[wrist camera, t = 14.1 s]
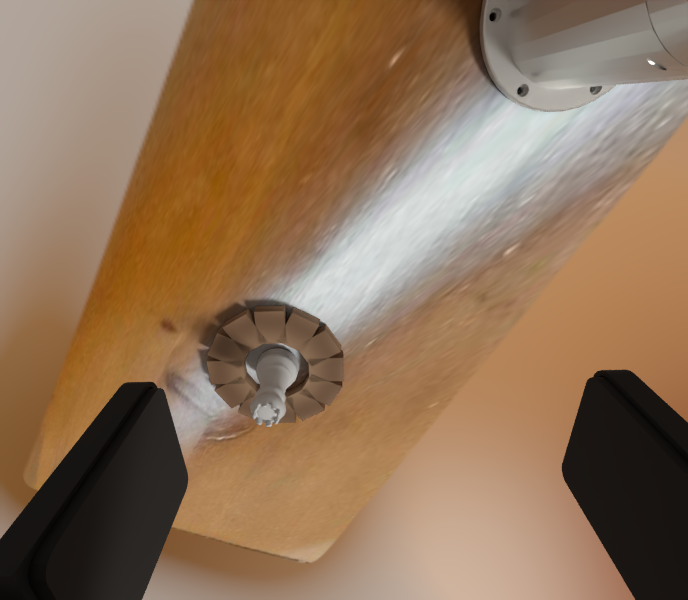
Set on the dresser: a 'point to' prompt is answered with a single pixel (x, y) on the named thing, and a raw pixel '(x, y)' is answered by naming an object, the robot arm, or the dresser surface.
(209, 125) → the dresser surface
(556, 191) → the dresser surface
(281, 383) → the rook chess piece
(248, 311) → the walnut ring
